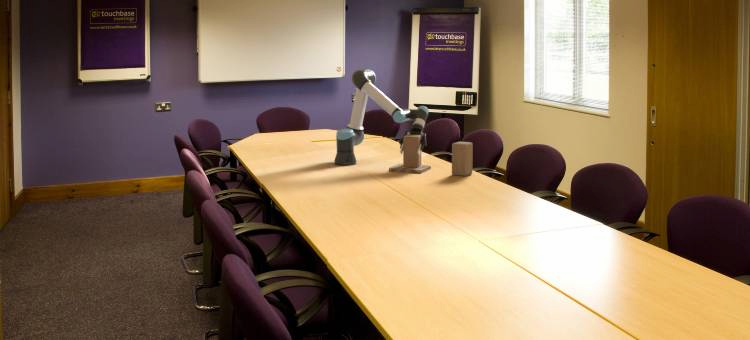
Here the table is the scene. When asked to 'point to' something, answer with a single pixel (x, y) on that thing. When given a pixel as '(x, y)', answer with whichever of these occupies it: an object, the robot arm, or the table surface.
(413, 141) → the wooden block
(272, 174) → the table surface
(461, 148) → the block
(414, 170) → the marked board
